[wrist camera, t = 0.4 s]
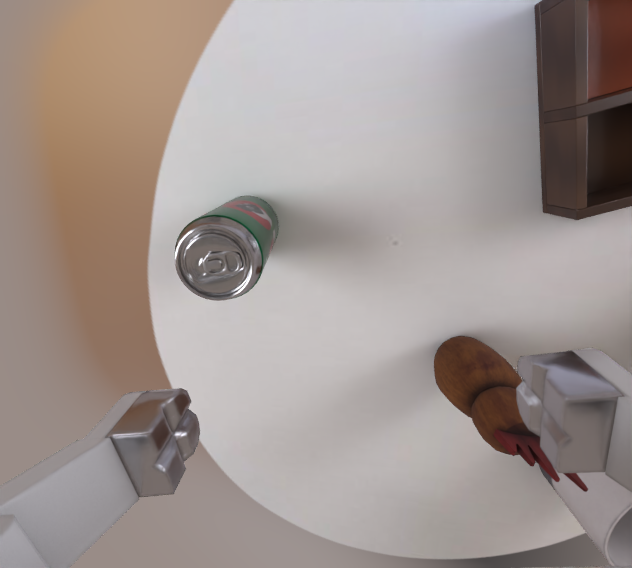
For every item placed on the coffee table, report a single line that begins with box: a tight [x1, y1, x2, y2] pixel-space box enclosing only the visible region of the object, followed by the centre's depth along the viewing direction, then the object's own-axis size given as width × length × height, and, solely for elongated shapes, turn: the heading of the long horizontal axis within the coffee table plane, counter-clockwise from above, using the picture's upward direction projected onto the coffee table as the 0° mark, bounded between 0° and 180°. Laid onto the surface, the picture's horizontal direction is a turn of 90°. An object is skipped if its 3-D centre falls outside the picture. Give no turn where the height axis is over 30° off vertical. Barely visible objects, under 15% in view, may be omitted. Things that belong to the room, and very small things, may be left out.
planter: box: [539, 465, 632, 566], centre depth 34 cm, size 13×13×10 cm
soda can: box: [175, 196, 279, 301], centre depth 24 cm, size 5×5×12 cm
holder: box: [535, 0, 632, 220], centre depth 25 cm, size 15×8×4 cm, turn 15°
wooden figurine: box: [434, 336, 588, 492], centre depth 28 cm, size 7×6×15 cm
